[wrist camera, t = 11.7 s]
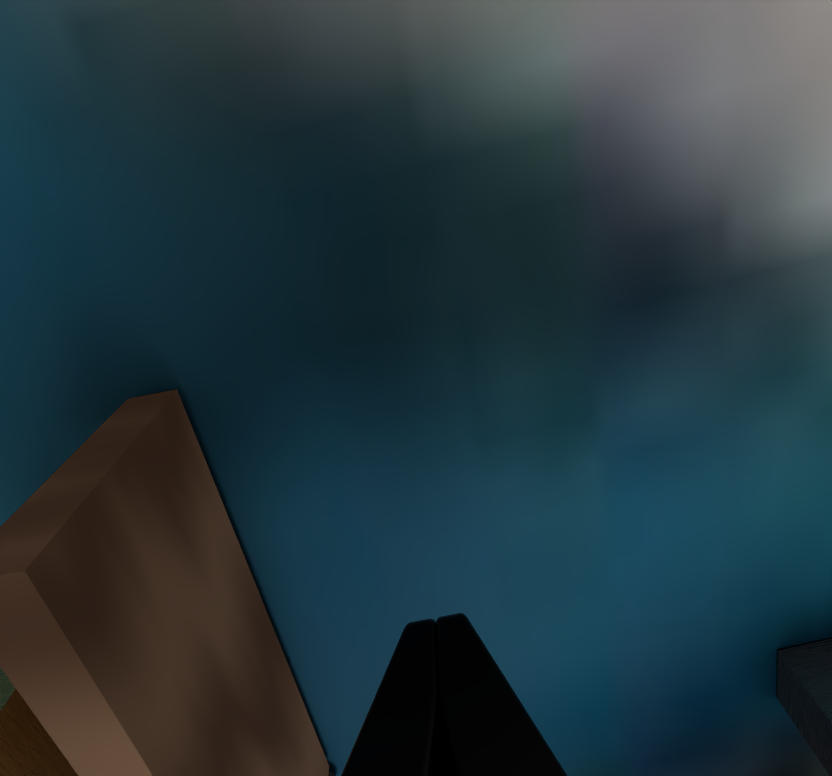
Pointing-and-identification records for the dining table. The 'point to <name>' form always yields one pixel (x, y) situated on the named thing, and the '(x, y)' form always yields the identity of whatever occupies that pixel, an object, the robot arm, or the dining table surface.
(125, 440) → the brown wooden plank
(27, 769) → the frame
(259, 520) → the dining table surface
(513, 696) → the robot arm
